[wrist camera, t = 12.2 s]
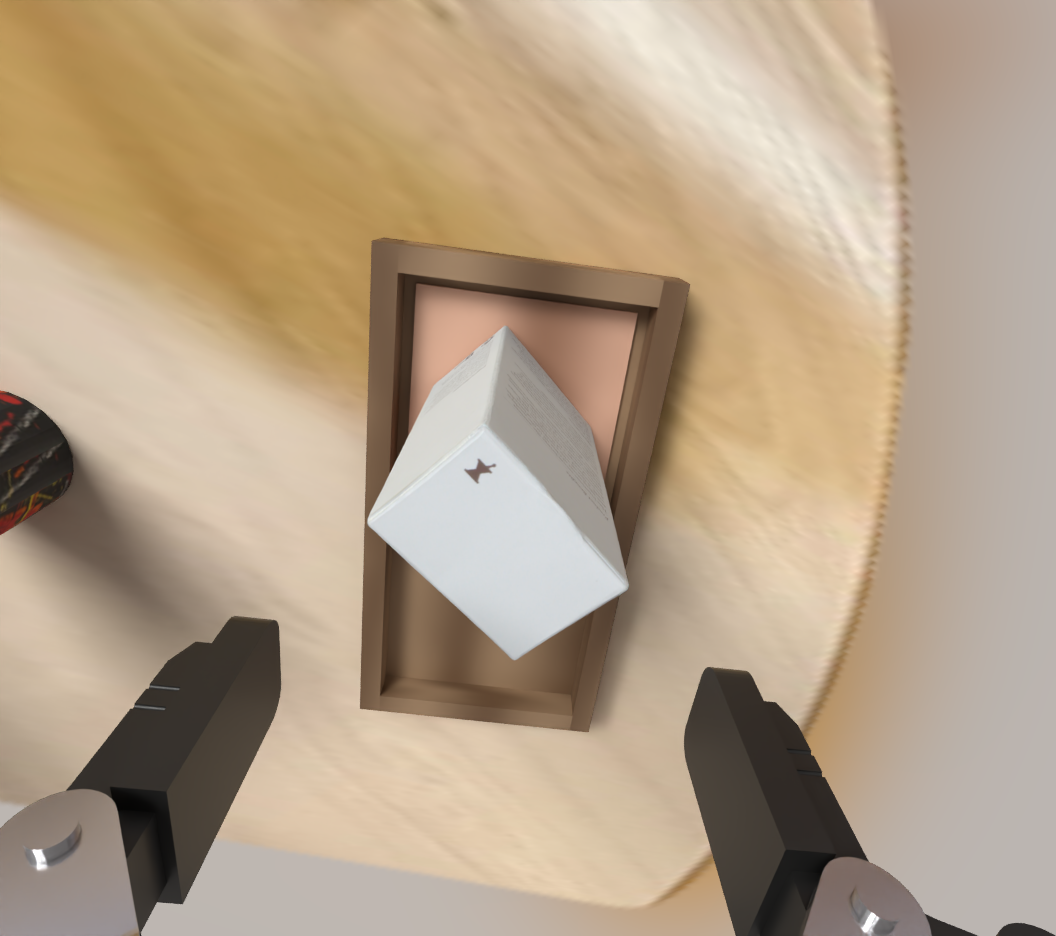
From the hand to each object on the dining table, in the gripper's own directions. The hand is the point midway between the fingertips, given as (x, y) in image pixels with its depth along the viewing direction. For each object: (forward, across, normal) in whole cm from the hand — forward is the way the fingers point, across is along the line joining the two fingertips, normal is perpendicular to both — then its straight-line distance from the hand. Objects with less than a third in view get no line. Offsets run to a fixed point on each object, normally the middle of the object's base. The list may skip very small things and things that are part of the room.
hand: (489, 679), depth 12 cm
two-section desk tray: (+17, 0, +5) cm, 18 cm away
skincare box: (+17, 0, 0) cm, 17 cm away
